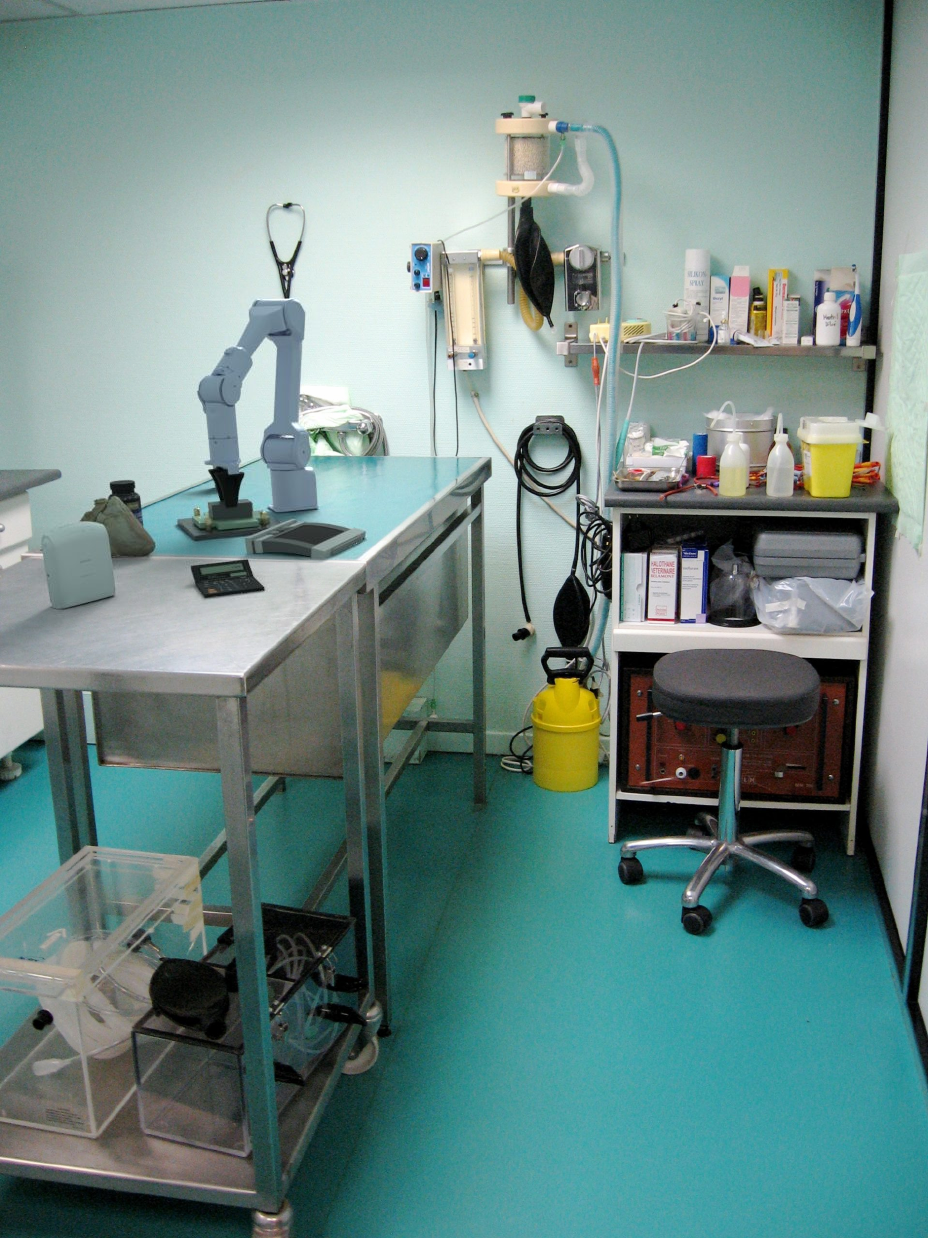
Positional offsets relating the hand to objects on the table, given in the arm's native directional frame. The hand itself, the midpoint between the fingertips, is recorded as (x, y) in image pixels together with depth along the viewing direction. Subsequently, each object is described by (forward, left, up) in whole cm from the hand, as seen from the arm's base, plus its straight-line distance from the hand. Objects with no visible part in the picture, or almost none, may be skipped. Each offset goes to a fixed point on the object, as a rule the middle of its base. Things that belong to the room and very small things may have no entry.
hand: (229, 505), depth 214 cm
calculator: (+11, +45, -5) cm, 47 cm away
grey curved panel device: (-9, +24, -5) cm, 26 cm away
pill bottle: (+20, -1, -5) cm, 21 cm away
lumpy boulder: (+23, +12, -5) cm, 26 cm away
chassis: (0, 0, -4) cm, 4 cm away
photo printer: (+33, +43, -5) cm, 54 cm away
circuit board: (0, 0, -3) cm, 3 cm away
